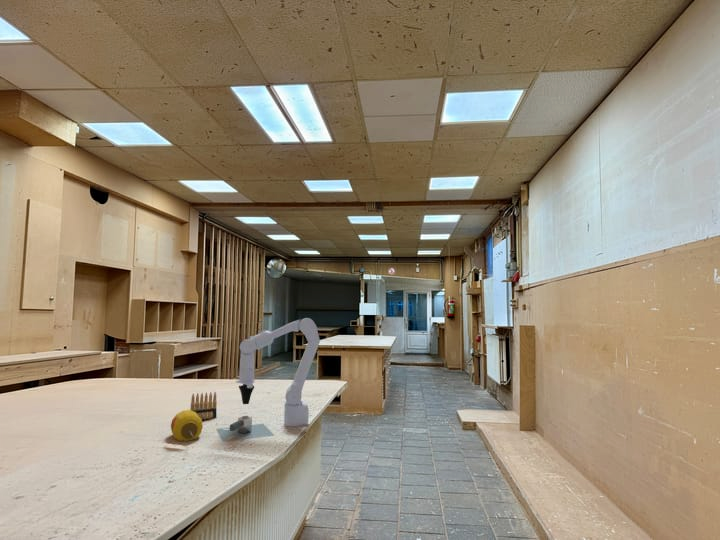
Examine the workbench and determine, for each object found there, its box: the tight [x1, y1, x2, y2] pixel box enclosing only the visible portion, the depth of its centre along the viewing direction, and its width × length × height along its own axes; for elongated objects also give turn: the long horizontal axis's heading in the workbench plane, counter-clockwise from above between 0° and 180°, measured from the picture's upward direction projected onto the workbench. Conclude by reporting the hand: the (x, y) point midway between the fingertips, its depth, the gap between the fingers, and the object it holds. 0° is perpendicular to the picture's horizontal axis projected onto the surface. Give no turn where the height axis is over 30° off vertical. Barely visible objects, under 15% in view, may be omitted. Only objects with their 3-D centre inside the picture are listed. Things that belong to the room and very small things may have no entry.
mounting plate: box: [216, 423, 275, 443], centre depth 151 cm, size 18×18×1 cm
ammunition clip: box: [189, 391, 217, 423], centre depth 172 cm, size 11×2×12 cm, turn 119°
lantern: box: [170, 409, 203, 442], centre depth 146 cm, size 10×10×30 cm
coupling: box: [229, 415, 253, 433], centre depth 148 cm, size 12×5×5 cm, turn 169°
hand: (245, 403), depth 162 cm, fingers closed
